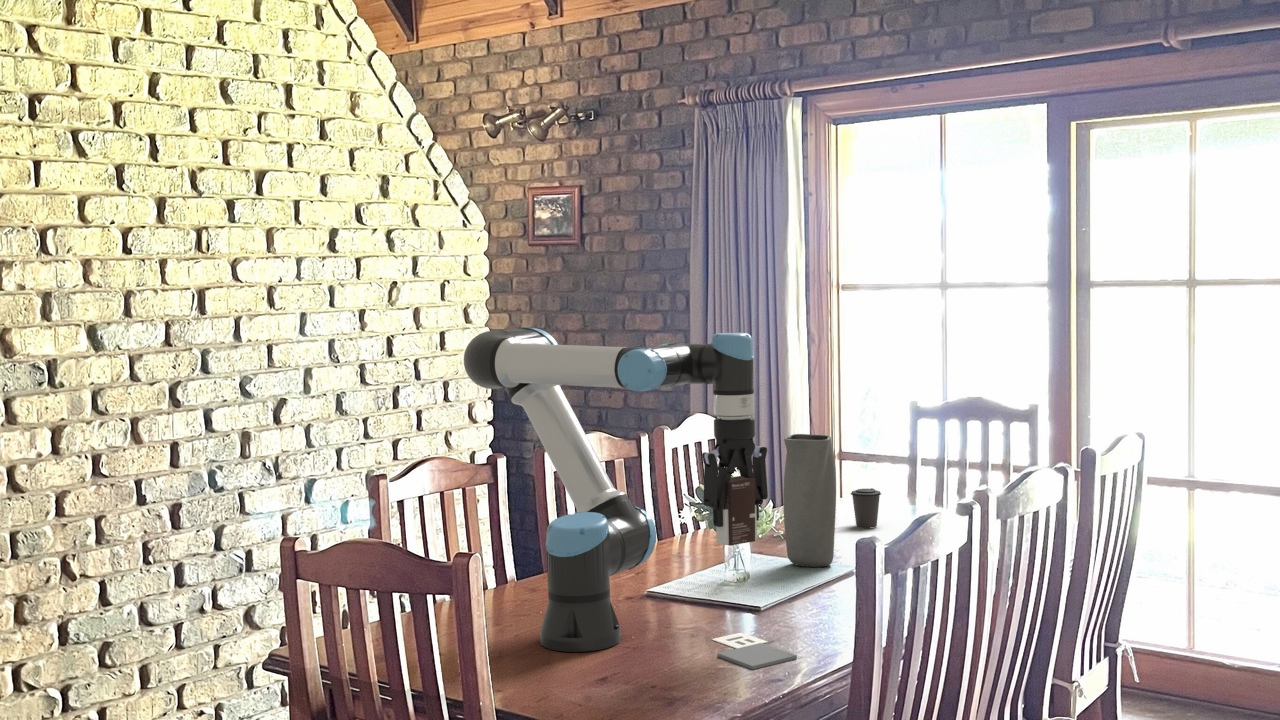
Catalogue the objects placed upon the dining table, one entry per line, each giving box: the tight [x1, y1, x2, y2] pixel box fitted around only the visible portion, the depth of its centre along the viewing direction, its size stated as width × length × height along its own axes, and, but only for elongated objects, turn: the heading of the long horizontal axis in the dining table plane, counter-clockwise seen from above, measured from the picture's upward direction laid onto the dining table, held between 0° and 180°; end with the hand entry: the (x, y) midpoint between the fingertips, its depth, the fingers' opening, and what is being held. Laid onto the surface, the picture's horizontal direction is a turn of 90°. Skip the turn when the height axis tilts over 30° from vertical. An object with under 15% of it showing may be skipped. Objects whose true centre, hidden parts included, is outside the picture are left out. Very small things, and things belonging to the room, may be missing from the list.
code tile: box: [711, 632, 769, 649], centre depth 239 cm, size 7×8×1 cm
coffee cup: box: [850, 487, 882, 529], centre depth 343 cm, size 8×8×10 cm
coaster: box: [716, 643, 798, 670], centre depth 229 cm, size 10×10×1 cm
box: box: [724, 475, 756, 547], centre depth 238 cm, size 6×4×12 cm
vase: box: [782, 433, 837, 568], centre depth 300 cm, size 12×12×30 cm
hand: (736, 541), depth 238 cm, fingers closed on box, 6 cm apart
